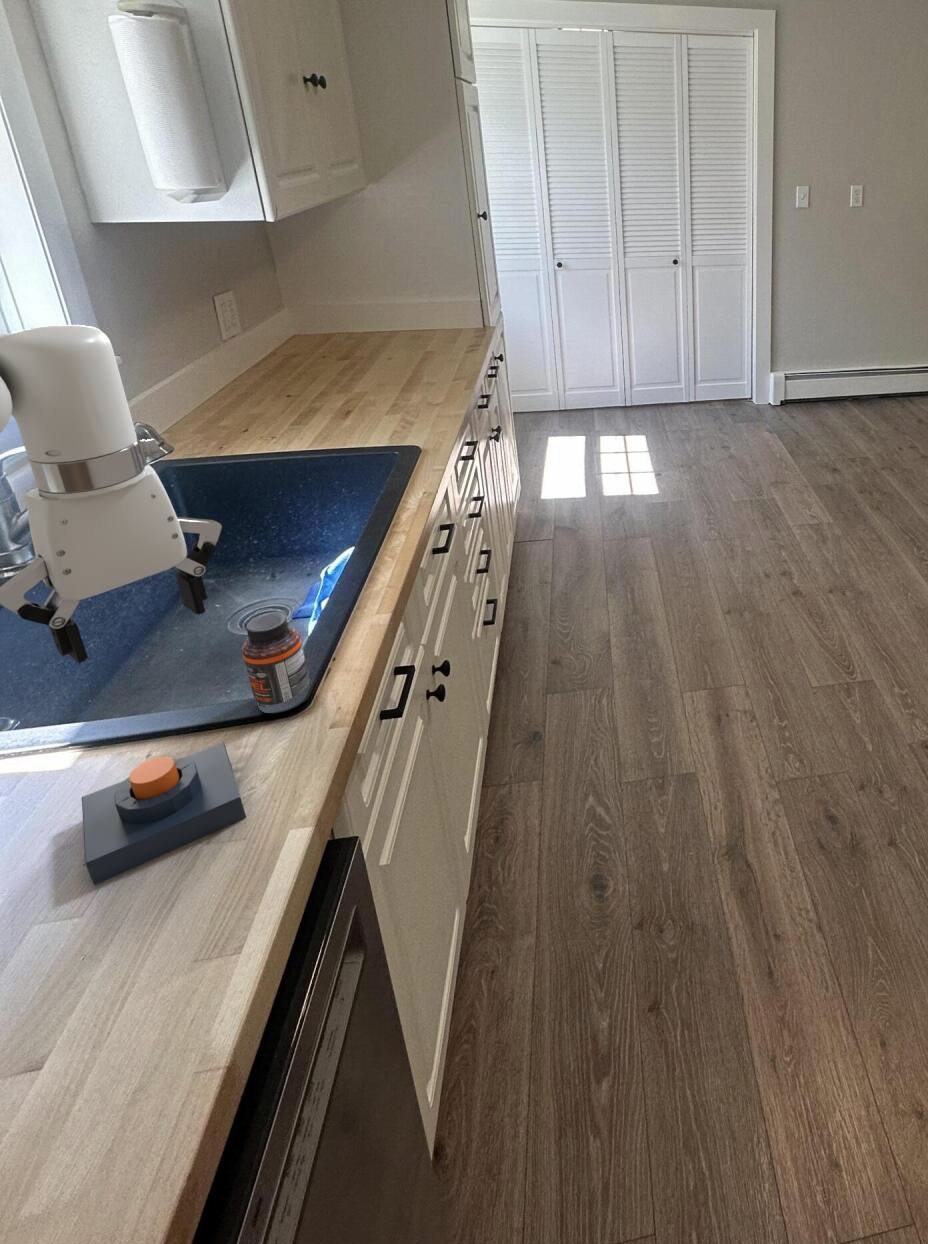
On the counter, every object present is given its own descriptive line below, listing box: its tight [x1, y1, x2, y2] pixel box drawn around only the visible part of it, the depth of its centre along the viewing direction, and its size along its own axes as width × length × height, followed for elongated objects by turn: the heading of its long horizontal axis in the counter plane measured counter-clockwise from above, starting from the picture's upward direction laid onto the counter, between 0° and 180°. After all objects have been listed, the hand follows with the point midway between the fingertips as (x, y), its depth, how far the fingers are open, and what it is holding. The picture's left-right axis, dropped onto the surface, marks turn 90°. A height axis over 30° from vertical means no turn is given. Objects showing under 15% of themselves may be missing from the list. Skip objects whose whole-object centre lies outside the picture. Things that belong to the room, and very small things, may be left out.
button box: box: [81, 741, 247, 886], centre depth 78 cm, size 12×10×4 cm
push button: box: [128, 755, 179, 800], centre depth 77 cm, size 4×4×2 cm
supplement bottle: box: [241, 611, 311, 707], centre depth 93 cm, size 6×6×11 cm
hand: (139, 632), depth 76 cm, fingers open, 9 cm apart
